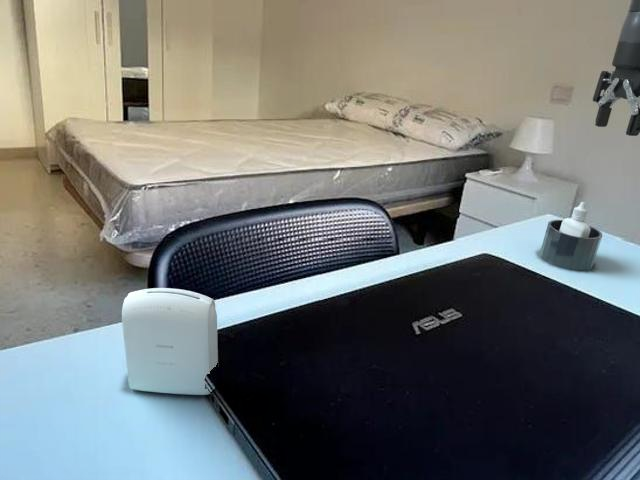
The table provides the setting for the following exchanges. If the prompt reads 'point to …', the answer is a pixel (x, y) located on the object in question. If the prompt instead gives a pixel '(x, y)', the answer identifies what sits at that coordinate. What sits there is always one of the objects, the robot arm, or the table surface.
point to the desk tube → (569, 248)
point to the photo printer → (169, 340)
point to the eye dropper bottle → (576, 223)
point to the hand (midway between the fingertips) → (615, 130)
